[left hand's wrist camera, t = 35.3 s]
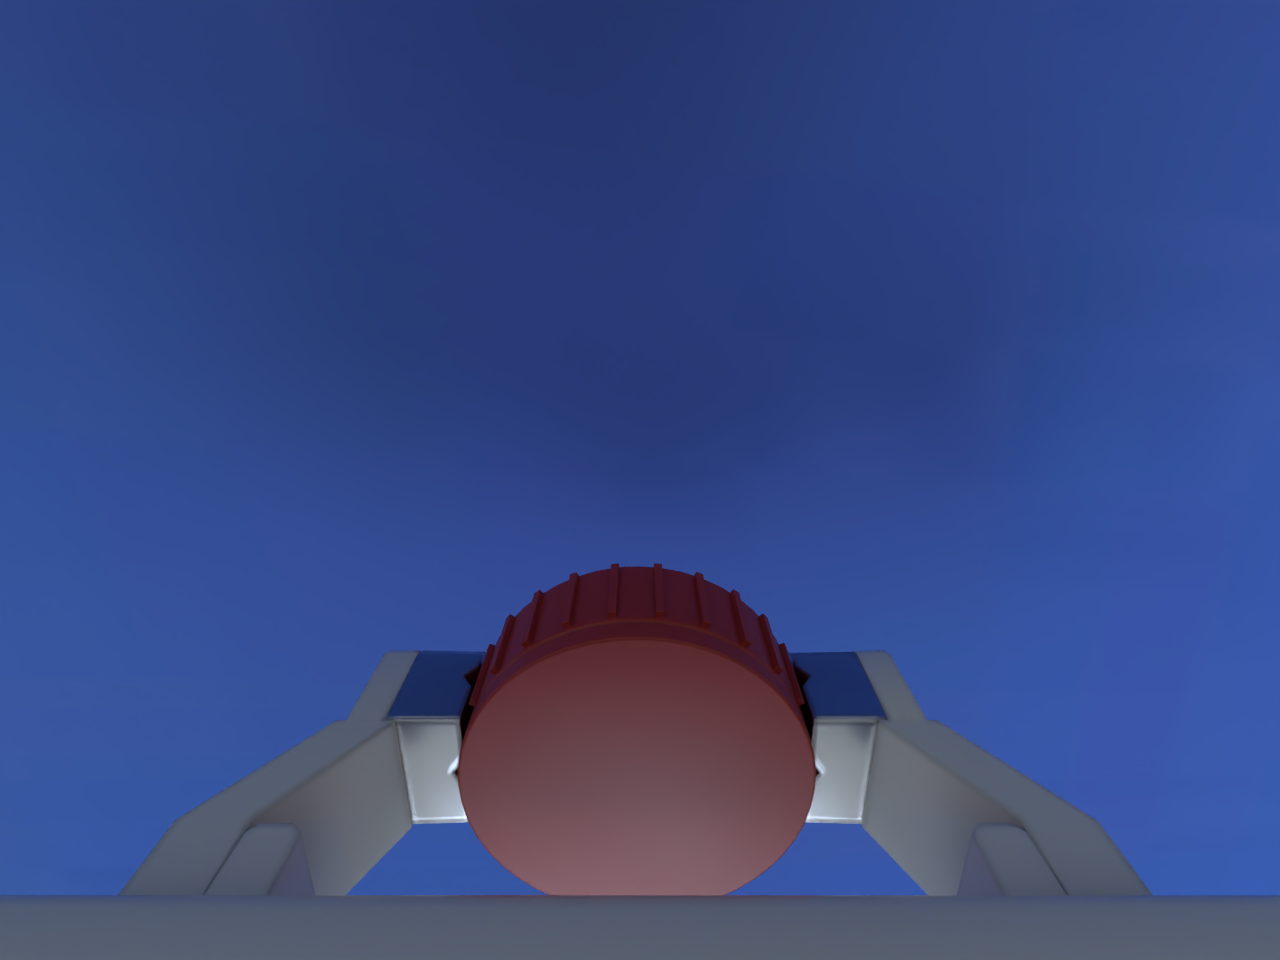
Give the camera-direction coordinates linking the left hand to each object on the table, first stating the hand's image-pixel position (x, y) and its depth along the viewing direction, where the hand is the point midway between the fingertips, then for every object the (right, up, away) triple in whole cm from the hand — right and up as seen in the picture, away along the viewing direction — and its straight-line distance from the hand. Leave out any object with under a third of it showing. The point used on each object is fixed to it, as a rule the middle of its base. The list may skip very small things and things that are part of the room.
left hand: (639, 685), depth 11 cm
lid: (0, -1, -2) cm, 2 cm away
